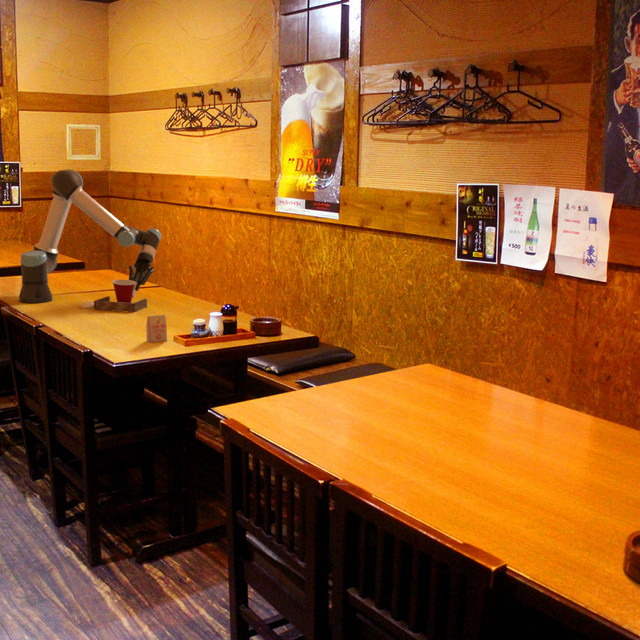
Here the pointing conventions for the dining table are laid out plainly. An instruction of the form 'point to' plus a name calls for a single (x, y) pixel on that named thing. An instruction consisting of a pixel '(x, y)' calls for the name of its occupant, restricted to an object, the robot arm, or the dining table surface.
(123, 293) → the plastic cup
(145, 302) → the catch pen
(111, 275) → the dining table surface
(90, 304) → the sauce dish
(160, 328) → the printed paper bag
